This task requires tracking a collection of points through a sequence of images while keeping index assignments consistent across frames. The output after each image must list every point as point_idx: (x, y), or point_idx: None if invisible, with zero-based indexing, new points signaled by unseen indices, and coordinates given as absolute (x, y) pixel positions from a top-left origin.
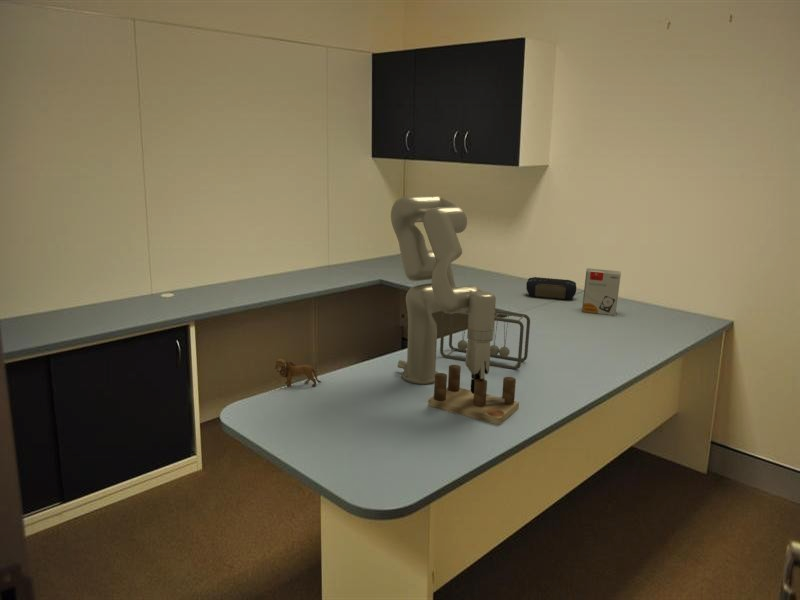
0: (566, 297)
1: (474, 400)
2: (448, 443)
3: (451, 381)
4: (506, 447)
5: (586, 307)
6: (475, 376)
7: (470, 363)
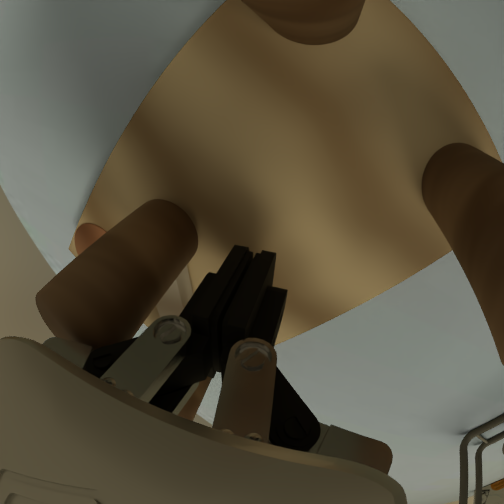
0: None
1: (138, 210)
2: (6, 53)
3: (474, 174)
4: (6, 196)
5: (501, 484)
6: (123, 359)
7: (21, 464)
